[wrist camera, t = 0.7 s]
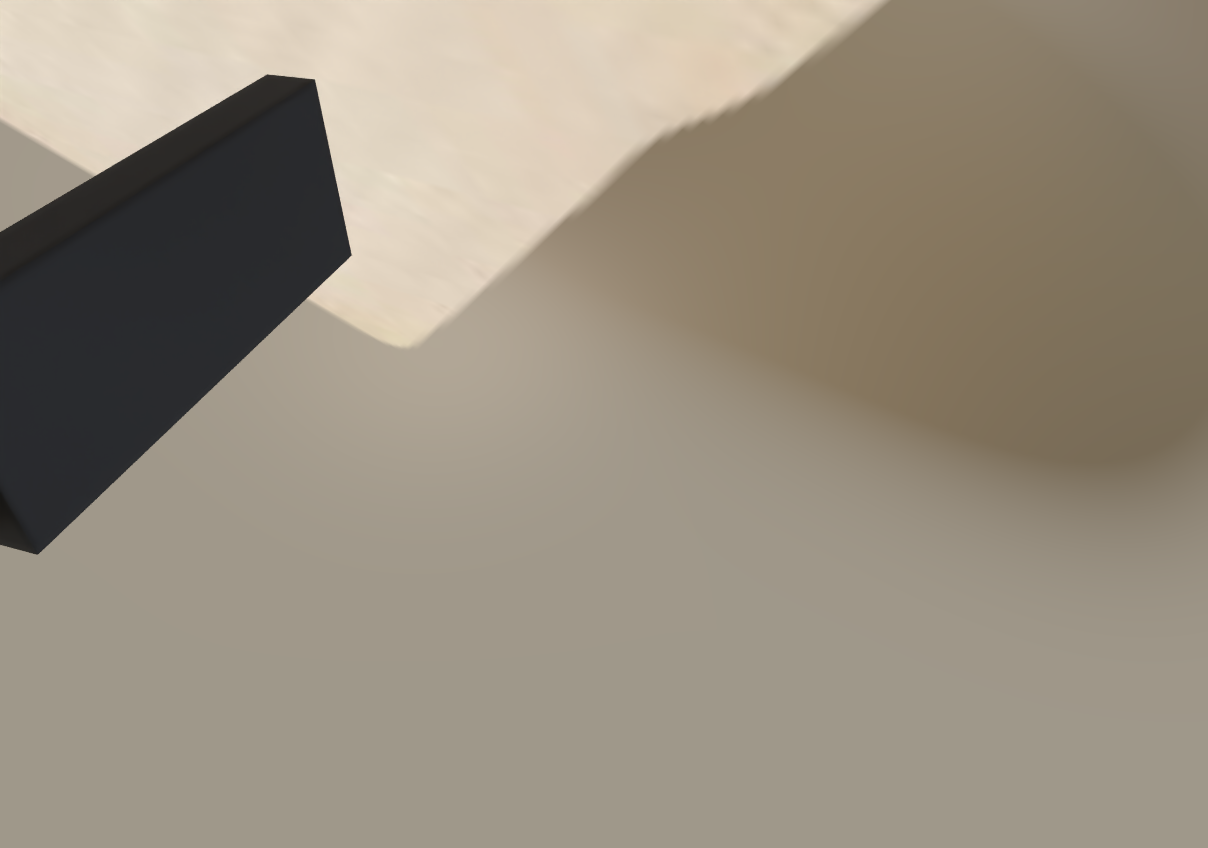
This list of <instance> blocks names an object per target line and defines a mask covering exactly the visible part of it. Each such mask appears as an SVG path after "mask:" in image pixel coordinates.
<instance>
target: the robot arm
mask: <svg viewBox="0 0 1208 848" xmlns="http://www.w3.org/2000/svg"><path fill="white" fill-rule="evenodd" d="M350 256H352V255H351V250H350V245H349V240H348V236H347V231H346V226H345V221H344V216H343V212H342V207H341V202H340V197H339V193H338V188H337V183H336V178H335V173H334V169H333V164H332V159H331V154H330V149H329V145H328V140H327V135H326V130H325V126H324V121H323V116H322V111H321V106H320V102H319V97H318V92H317V87H316V83H315V80H314V79H305V78H295V77H286V76H276V75H266V76H264V77H262V78H260V79H259V80H257V81H255V82H254V83H252V84H250V85H249V86H247V87H245V88H244V89H242V90H240V91H238V92H237V93H235V94H233V95H232V96H230V97H228V98H227V99H225V100H223V101H222V102H220V103H218V104H216V105H215V106H213V107H211V108H210V109H208V110H206V111H205V112H203V113H201V114H200V115H198V116H196V117H194V118H193V119H191V120H189V121H188V122H186V123H184V124H183V125H181V126H179V127H177V128H176V129H174V130H172V131H171V132H169V133H167V134H166V135H164V136H162V137H161V138H159V139H157V140H155V141H154V142H152V143H150V144H149V145H147V146H145V147H144V148H142V149H140V150H139V151H137V152H135V153H133V154H132V155H130V156H128V157H127V158H125V159H123V160H122V161H120V162H118V163H117V164H115V165H113V166H111V167H110V168H108V169H106V170H105V171H103V172H101V173H100V174H98V175H96V176H95V177H93V178H91V179H89V180H88V181H86V182H84V183H83V184H81V185H79V186H78V187H76V188H74V189H73V190H71V191H69V192H67V193H66V194H64V195H62V196H61V197H59V198H57V199H56V200H54V201H52V202H51V203H49V204H47V205H45V206H44V207H42V208H40V209H39V210H37V211H35V212H34V213H32V214H30V215H28V216H27V217H25V218H24V219H22V220H20V221H18V222H17V223H15V224H13V225H12V226H10V227H8V228H6V229H5V230H3V231H1V232H0V545H3V546H7V547H11V548H14V549H18V550H22V551H26V552H29V553H33V554H39V553H40V552H41V551H42V550H43V549H44V548H45V547H46V546H47V545H48V544H50V543H51V542H52V541H53V540H54V539H55V538H56V537H57V536H58V535H59V534H60V533H61V532H62V531H63V530H64V529H65V528H66V527H67V526H68V525H69V524H70V523H71V522H73V521H74V520H75V519H76V518H77V517H78V516H79V515H80V514H81V513H82V512H83V511H84V510H85V509H86V508H87V507H88V506H89V505H90V504H91V503H93V502H94V501H95V500H96V499H97V498H98V497H99V496H100V495H101V494H102V493H103V492H104V491H105V490H106V489H107V488H108V487H109V486H110V485H111V484H112V483H114V482H115V481H116V480H117V479H118V478H119V477H120V476H121V475H122V474H123V473H124V472H125V471H126V470H127V469H128V468H129V467H130V466H131V465H132V464H133V463H134V462H135V461H137V460H138V459H139V458H140V457H141V456H142V455H143V454H144V453H145V452H146V451H147V450H148V449H149V448H150V447H151V446H152V445H153V444H154V443H155V442H156V441H158V440H159V439H160V438H161V437H162V436H163V435H164V434H165V433H166V432H167V431H168V430H169V429H170V428H171V427H172V426H173V425H174V424H175V423H176V422H177V421H179V419H181V418H182V416H184V415H185V414H186V413H187V412H188V411H189V410H190V409H191V408H192V407H193V406H194V405H195V404H196V403H197V402H198V401H199V400H201V398H202V397H204V396H205V395H206V394H207V393H208V392H209V391H210V390H211V389H212V388H213V387H214V386H215V385H216V384H217V383H218V382H219V381H220V380H221V379H222V378H224V377H225V376H226V375H227V374H228V373H229V372H230V371H231V370H232V369H233V368H234V367H235V366H236V365H237V364H238V363H239V362H240V361H241V360H242V359H244V357H246V356H247V355H248V354H249V353H250V352H251V351H252V350H253V349H254V348H255V347H256V346H257V345H258V344H259V343H260V342H261V341H262V340H263V339H264V338H266V336H268V334H270V333H271V332H272V331H273V330H274V329H275V328H276V327H277V326H278V325H279V324H280V323H281V322H282V321H283V320H284V319H285V318H287V317H288V316H289V315H290V314H291V313H292V312H293V311H294V310H295V309H296V308H297V307H298V306H299V305H300V304H301V303H302V302H303V301H304V300H305V299H306V298H307V297H309V296H310V295H311V294H312V293H313V292H314V291H315V290H316V289H317V288H318V287H319V286H320V285H321V284H322V283H323V282H324V281H325V280H326V279H327V278H328V277H330V276H331V275H332V274H333V273H334V272H335V271H336V270H337V269H338V268H339V267H340V266H341V265H342V264H343V263H344V262H345V261H346V260H347V259H348V258H349V257H350Z"/></svg>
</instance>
